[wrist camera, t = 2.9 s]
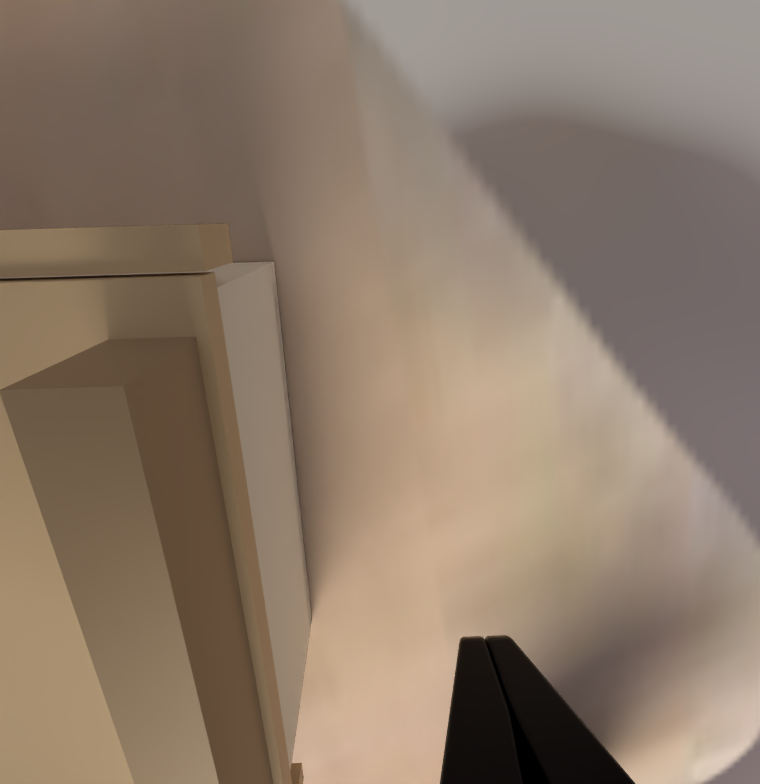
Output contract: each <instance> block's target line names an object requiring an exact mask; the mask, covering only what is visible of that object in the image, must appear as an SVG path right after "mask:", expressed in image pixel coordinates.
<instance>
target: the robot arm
mask: <svg viewBox="0 0 760 784" xmlns="http://www.w3.org/2000/svg"><path fill="white" fill-rule="evenodd" d="M440 784H635V782H634V781H633V780H632V779H631V778H630V777H629V775H628V774H627V773H626V772H625V771H624V770H623V768H622V767H621V766H620V765H619V764H618V763H617V761H616V760H615V759H614V758H613V757H612V755H611V754H610V753H609V752H608V751H607V750H606V748H605V747H604V746H603V745H602V744H601V743H600V741H599V740H598V739H597V738H596V737H595V736H594V734H593V733H592V732H591V731H590V730H589V729H588V727H587V726H586V725H585V724H584V723H583V721H582V720H581V719H580V718H579V717H578V716H577V714H576V713H575V712H574V711H573V710H572V709H571V707H570V706H569V705H568V704H567V703H566V702H565V700H564V699H563V698H562V697H561V696H560V695H559V693H558V692H557V691H556V690H555V689H554V688H553V686H552V685H551V684H550V683H549V682H548V680H547V679H546V678H545V677H544V676H543V675H542V673H541V672H540V671H539V670H538V669H537V668H536V666H535V665H534V664H533V663H532V662H531V661H530V659H529V658H528V657H527V656H526V655H525V654H524V652H523V651H522V650H521V649H520V648H519V646H518V645H517V644H516V643H515V642H514V641H513V640H512V638H510V637H509V636H506V635H500V636H487V637H486V638H485V639H484V638H483V637H480V636H475V637H462V638H461V639H460V643H459V650H458V657H457V664H456V671H455V678H454V686H453V693H452V700H451V707H450V714H449V722H448V729H447V736H446V743H445V750H444V758H443V765H442V772H441V779H440Z"/></svg>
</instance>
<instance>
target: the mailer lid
mask: <svg viewBox="0 0 760 784" xmlns="http://www.w3.org/2000/svg"><path fill="white" fill-rule="evenodd" d="M232 262H233V255H232V248H231V240H230V233H229V226H228V223H218V224H184V225H150V226H116V227H82V228H48V229H14V230H0V784H303V778H304V777H303V770H302V763H293V764H291V770H290V766H289V760H288V753H287V746H286V740H285V733H284V727H283V720H282V713H281V707H280V700H279V693H278V687H277V680H276V674H275V667H274V660H273V654H272V647H271V640H270V634H269V627H268V621H267V614H266V607H265V601H264V594H263V587H262V581H261V574H260V568H259V561H258V554H257V548H256V541H255V535H254V528H253V521H252V515H251V508H250V501H249V495H248V488H247V482H246V475H245V468H244V462H243V455H242V448H241V442H240V435H239V429H238V422H237V415H236V409H235V402H234V395H233V389H232V382H231V376H230V369H229V362H228V356H227V349H226V343H225V336H224V329H223V323H222V316H221V309H220V303H219V296H218V290H217V283H216V276H215V272H200V271H208V270H211V269H214V268H217V267H220V266H223V265H226V264H229V263H232ZM168 272H196V273H168ZM135 273H163V274H135ZM103 274H131V275H103ZM70 275H98V276H70ZM37 276H66V277H37ZM5 277H33V278H5Z"/></svg>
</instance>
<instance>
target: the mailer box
mask: <svg viewBox="0 0 760 784" xmlns="http://www.w3.org/2000/svg"><path fill="white" fill-rule="evenodd" d="M200 272H215V276H216V283H217V290H218V296H219V303H220V309H221V316H222V323H223V329H224V336H225V343H226V349H227V356H228V362H229V369H230V376H231V382H232V389H233V395H234V402H235V409H236V415H237V422H238V429H239V435H240V442H241V448H242V455H243V462H244V468H245V475H246V482H247V488H248V495H249V501H250V508H251V515H252V521H253V528H254V535H255V541H256V548H257V554H258V561H259V568H260V574H261V581H262V587H263V594H264V601H265V607H266V614H267V621H268V627H269V634H270V640H271V647H272V654H273V660H274V667H275V674H276V680H277V687H278V693H279V700H280V707H281V713H282V720H283V727H284V733H285V740H286V746H287V753H288V760H289V766H290V770H291V763H292V756H293V749H294V742H295V735H296V728H297V721H298V714H299V707H300V700H301V692H302V685H303V678H304V671H305V664H306V657H307V650H308V643H309V636H310V629H311V622H312V616H311V607H310V597H309V588H308V578H307V569H306V559H305V550H304V540H303V531H302V521H301V512H300V503H299V493H298V484H297V474H296V465H295V455H294V446H293V436H292V427H291V417H290V408H289V398H288V389H287V380H286V370H285V361H284V351H283V342H282V332H281V323H280V313H279V304H278V294H277V285H276V275H275V266H274V262H241V263H229V264H226V265H223V266H220V267H217V268H214V269H211V270H208V271H200ZM168 273H196V272H168ZM135 274H163V273H135ZM103 275H131V274H103ZM70 276H98V275H70ZM37 277H66V276H37ZM5 278H33V277H5Z"/></svg>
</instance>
